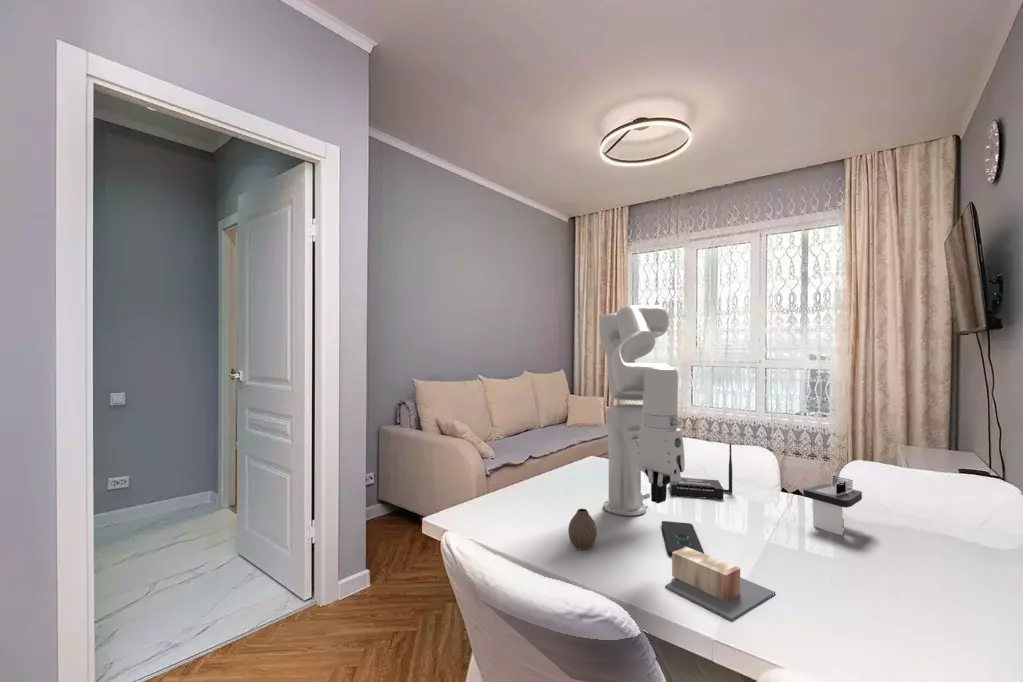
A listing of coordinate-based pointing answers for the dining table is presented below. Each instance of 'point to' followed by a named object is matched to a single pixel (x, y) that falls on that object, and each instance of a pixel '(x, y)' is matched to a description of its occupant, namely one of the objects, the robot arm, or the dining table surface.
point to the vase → (582, 530)
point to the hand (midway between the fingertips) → (658, 501)
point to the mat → (730, 609)
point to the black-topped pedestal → (832, 503)
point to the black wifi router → (701, 486)
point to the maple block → (706, 573)
